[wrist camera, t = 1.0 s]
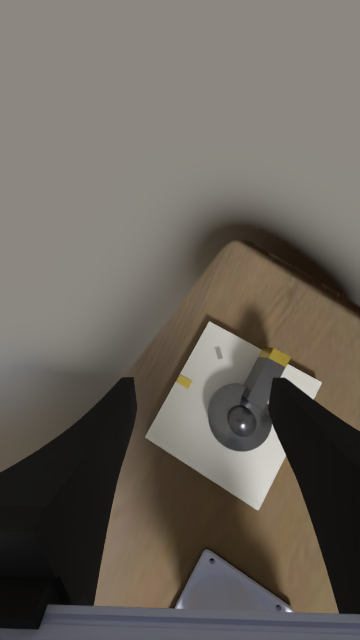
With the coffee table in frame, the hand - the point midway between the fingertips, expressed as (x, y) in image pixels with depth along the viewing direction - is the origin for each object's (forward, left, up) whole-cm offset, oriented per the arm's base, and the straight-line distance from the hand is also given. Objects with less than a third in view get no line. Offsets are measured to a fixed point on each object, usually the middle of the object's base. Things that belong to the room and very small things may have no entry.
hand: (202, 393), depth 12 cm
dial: (-5, 0, -12) cm, 13 cm away
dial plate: (-5, +2, -14) cm, 14 cm away
